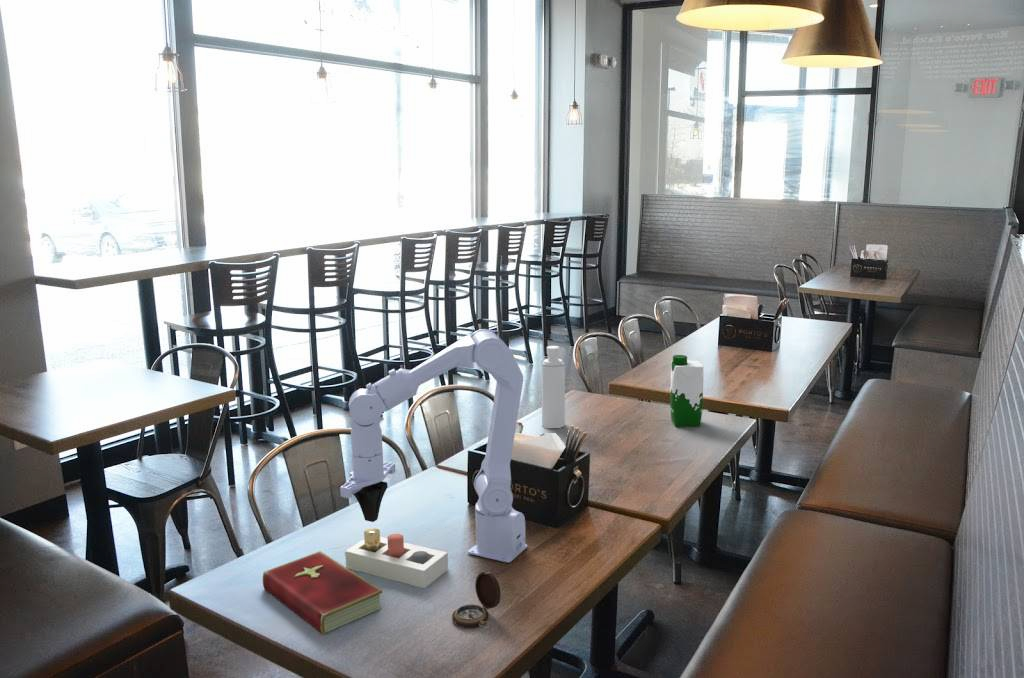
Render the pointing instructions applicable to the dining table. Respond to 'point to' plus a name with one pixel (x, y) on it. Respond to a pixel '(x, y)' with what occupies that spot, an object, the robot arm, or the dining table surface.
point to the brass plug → (372, 539)
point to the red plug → (395, 545)
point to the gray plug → (420, 557)
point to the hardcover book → (322, 591)
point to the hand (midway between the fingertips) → (371, 519)
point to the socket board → (398, 563)
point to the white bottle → (553, 389)
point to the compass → (487, 596)
